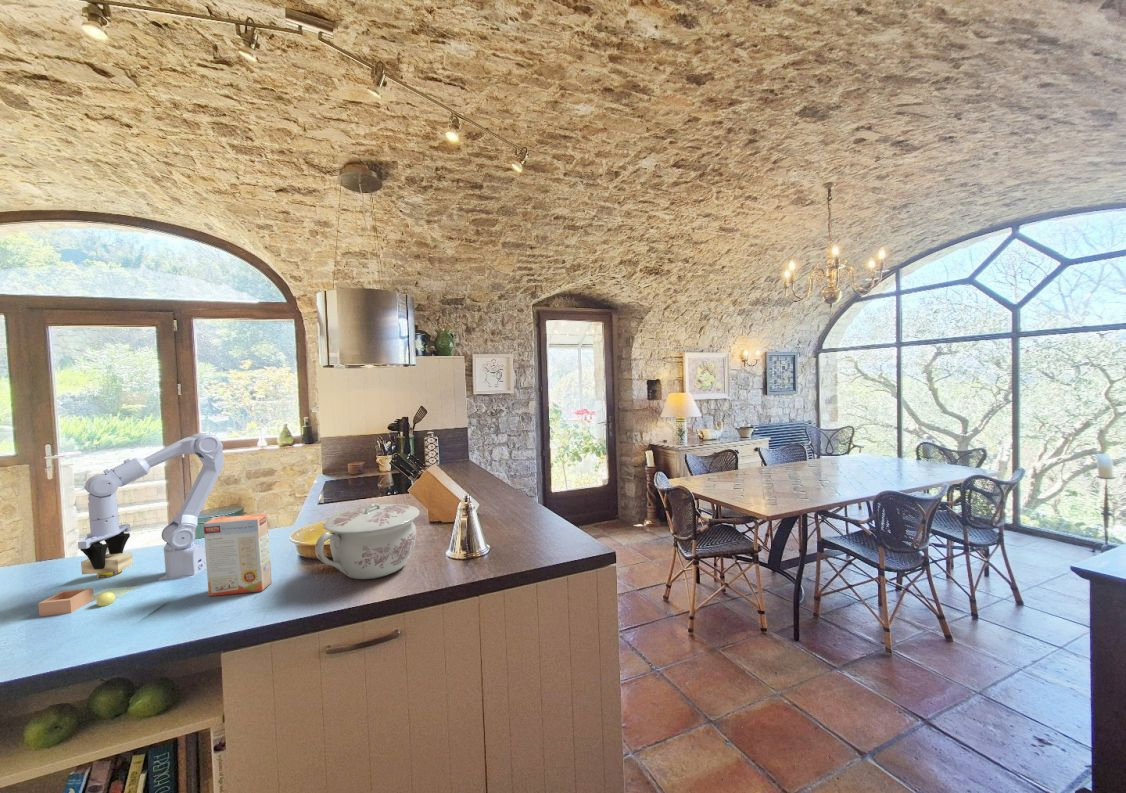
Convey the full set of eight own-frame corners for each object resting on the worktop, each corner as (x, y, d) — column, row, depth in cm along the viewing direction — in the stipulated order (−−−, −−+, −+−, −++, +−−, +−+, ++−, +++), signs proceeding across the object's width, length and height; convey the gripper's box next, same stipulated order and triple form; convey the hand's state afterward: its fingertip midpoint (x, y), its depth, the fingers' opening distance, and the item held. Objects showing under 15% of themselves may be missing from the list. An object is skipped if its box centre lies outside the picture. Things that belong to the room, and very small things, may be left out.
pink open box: (93, 601, 126) (92, 587, 125) (71, 614, 119) (70, 599, 119) (63, 605, 124) (62, 590, 124) (39, 618, 118) (38, 603, 117)
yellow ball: (119, 602, 125) (118, 589, 125) (108, 608, 121) (107, 595, 121) (104, 603, 125) (103, 590, 124) (93, 610, 121) (91, 596, 121)
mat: (139, 587, 133) (139, 585, 133) (119, 599, 127) (119, 597, 127) (104, 590, 132) (104, 588, 132) (82, 602, 125) (82, 600, 125)
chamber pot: (422, 547, 158) (419, 488, 157) (423, 581, 132) (419, 510, 131) (332, 560, 150) (329, 497, 149) (315, 598, 123) (310, 523, 122)
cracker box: (272, 582, 134) (268, 512, 133) (262, 592, 128) (257, 519, 127) (221, 587, 132) (216, 516, 131) (207, 597, 126) (202, 522, 125)
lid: (132, 564, 132) (131, 550, 132) (118, 571, 127) (117, 557, 127) (97, 567, 131) (96, 553, 130) (81, 574, 126) (80, 559, 126)
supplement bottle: (94, 582, 138) (91, 549, 138) (100, 576, 143) (97, 544, 142) (119, 577, 141) (116, 545, 140) (124, 571, 146) (121, 540, 145)
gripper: (110, 510, 135) (113, 555, 135) (63, 526, 120) (67, 577, 121) (136, 508, 136) (140, 553, 136) (93, 524, 121) (97, 574, 122)
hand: (107, 564), depth 129 cm, fingers closed on lid, 5 cm apart
